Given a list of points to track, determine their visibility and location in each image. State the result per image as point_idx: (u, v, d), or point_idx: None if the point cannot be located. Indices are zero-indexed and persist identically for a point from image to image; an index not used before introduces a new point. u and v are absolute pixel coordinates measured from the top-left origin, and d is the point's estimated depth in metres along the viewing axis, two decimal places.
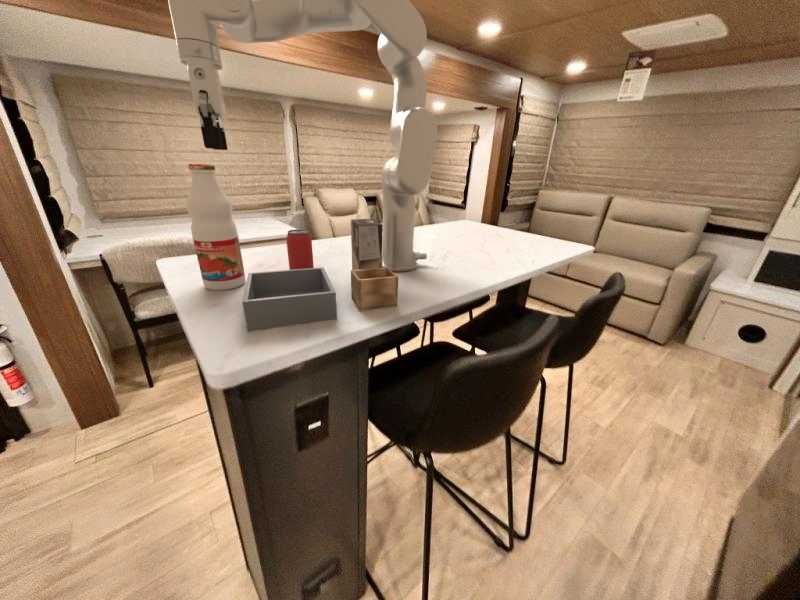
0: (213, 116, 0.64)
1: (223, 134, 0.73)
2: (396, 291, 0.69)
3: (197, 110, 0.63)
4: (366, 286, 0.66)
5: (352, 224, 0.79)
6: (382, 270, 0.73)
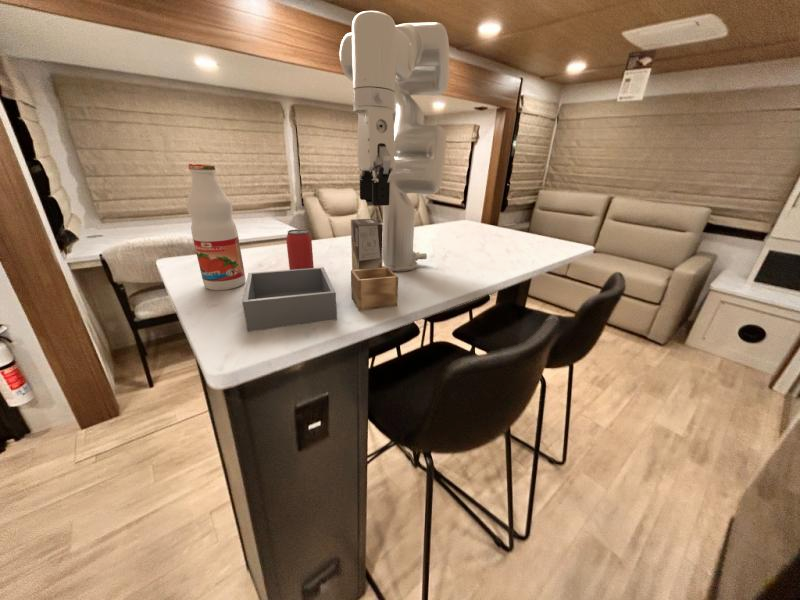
0: None
1: None
2: (396, 291, 0.69)
3: (372, 165, 0.55)
4: (366, 286, 0.66)
5: (352, 224, 0.79)
6: (382, 270, 0.73)
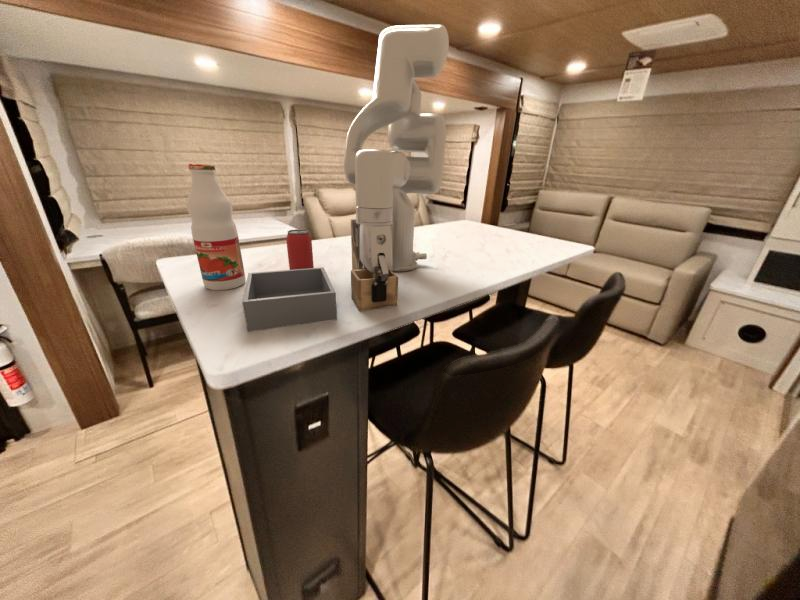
0: None
1: None
2: (396, 291, 0.69)
3: (372, 270, 0.63)
4: (366, 286, 0.66)
5: (352, 224, 0.79)
6: None
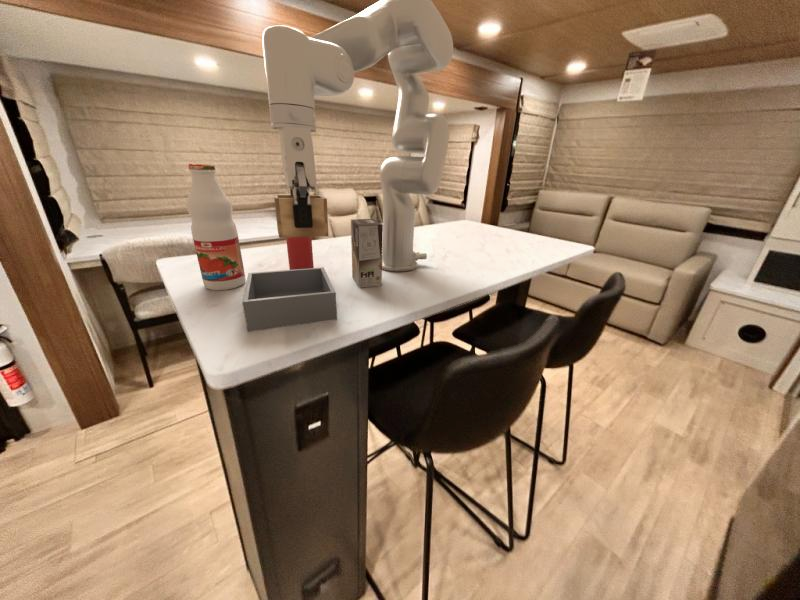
0: (307, 193, 0.55)
1: None
2: (325, 217, 0.59)
3: (290, 184, 0.53)
4: (286, 207, 0.55)
5: (352, 224, 0.79)
6: (313, 198, 0.62)
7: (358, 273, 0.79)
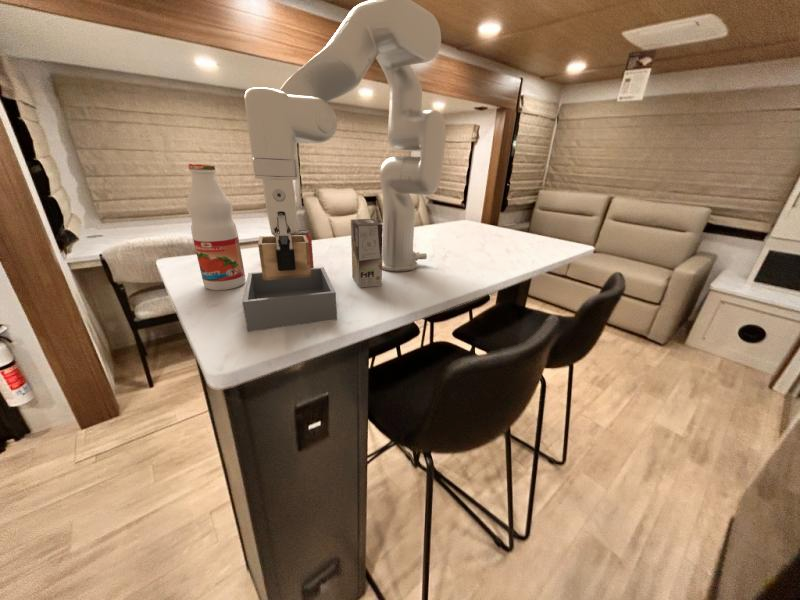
0: (290, 239, 0.57)
1: None
2: (308, 259, 0.61)
3: (273, 232, 0.56)
4: (269, 252, 0.58)
5: (352, 224, 0.79)
6: (297, 238, 0.65)
7: (358, 273, 0.79)
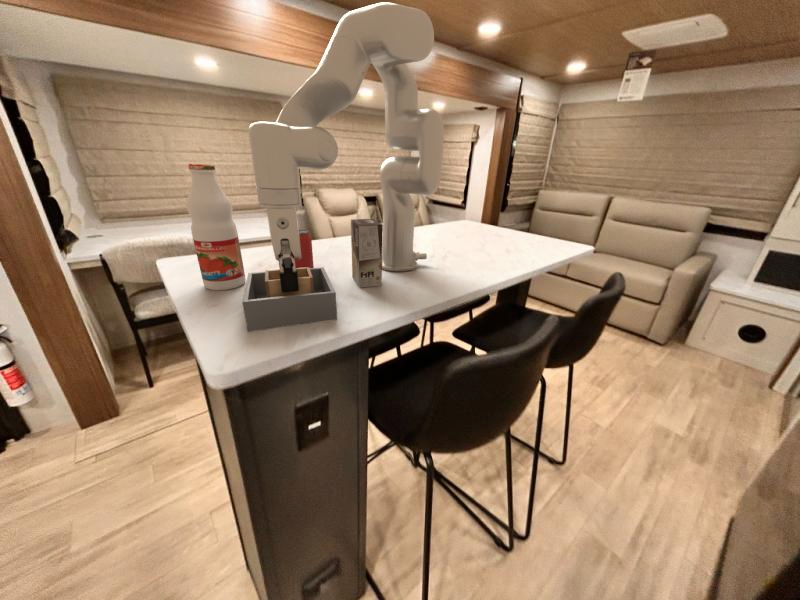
0: (293, 261, 0.59)
1: None
2: (312, 292, 0.64)
3: (277, 257, 0.58)
4: (275, 287, 0.61)
5: (352, 224, 0.79)
6: (301, 270, 0.68)
7: (358, 273, 0.79)
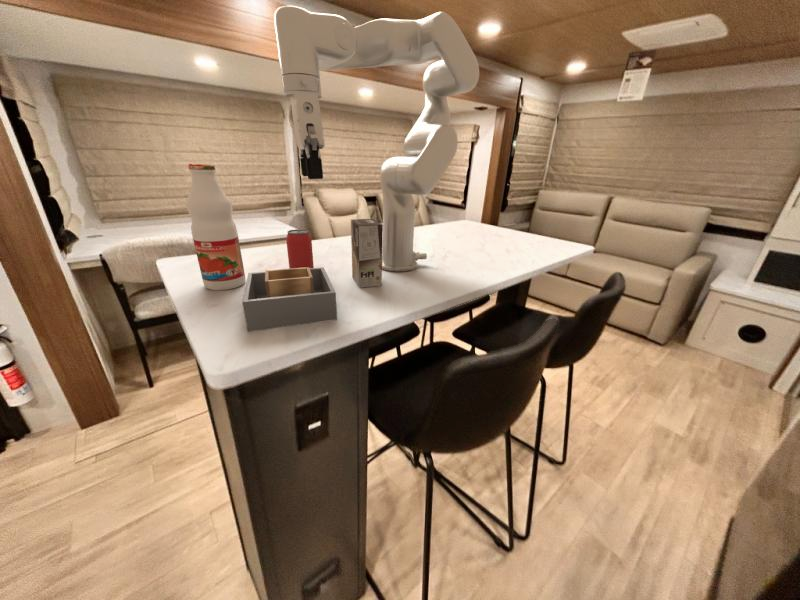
0: None
1: None
2: (312, 292, 0.64)
3: (303, 143, 0.64)
4: (275, 287, 0.61)
5: (352, 224, 0.79)
6: (301, 270, 0.68)
7: (358, 273, 0.79)
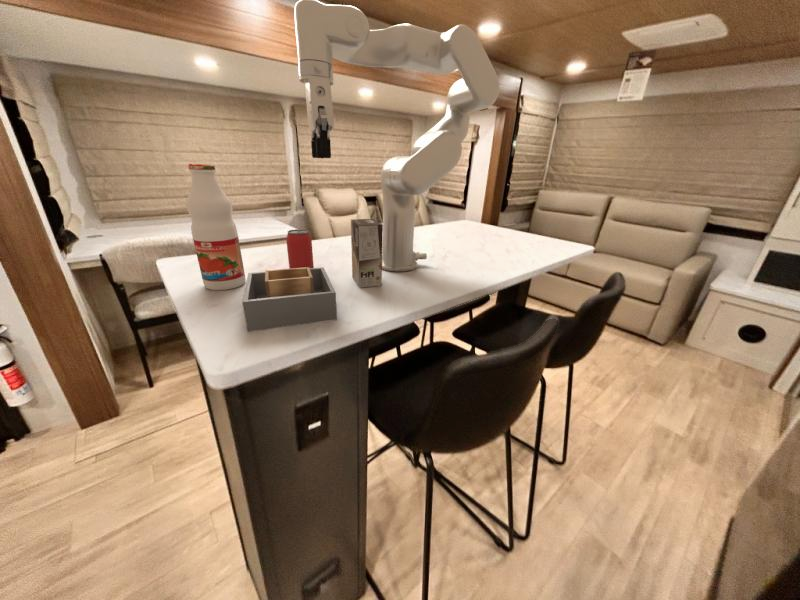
0: None
1: None
2: (312, 292, 0.64)
3: (314, 123, 0.69)
4: (275, 287, 0.61)
5: (352, 224, 0.79)
6: (301, 270, 0.68)
7: (358, 273, 0.79)
